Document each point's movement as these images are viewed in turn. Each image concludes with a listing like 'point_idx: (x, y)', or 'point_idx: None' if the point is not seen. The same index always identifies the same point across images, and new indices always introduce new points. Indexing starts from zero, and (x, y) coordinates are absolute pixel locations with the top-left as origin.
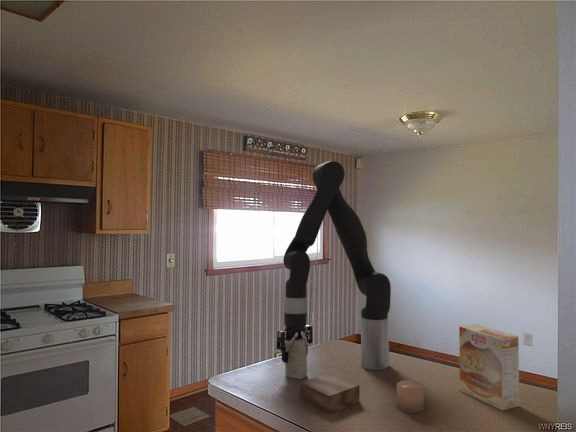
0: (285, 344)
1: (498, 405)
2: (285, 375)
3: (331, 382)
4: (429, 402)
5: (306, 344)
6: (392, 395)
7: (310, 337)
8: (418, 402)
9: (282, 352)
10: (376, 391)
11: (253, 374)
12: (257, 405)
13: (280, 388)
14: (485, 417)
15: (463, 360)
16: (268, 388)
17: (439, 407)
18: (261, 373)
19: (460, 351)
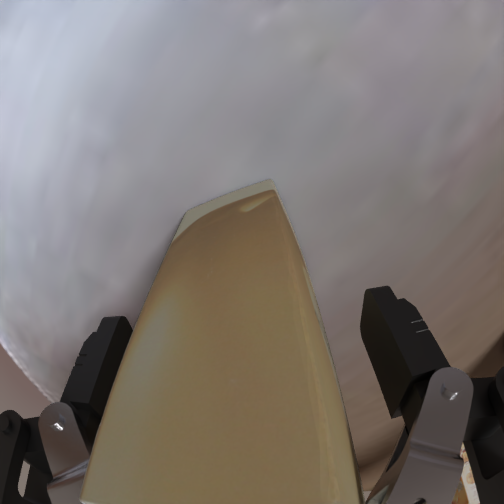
0: None
1: None
2: (183, 217)
3: None
4: (375, 466)
5: (403, 441)
6: (364, 450)
7: (480, 472)
8: None
9: (68, 404)
10: (363, 437)
11: (27, 79)
12: (13, 360)
13: (94, 325)
14: (370, 483)
15: (457, 491)
16: (47, 297)
17: (365, 473)
18: (69, 80)
19: (465, 499)
